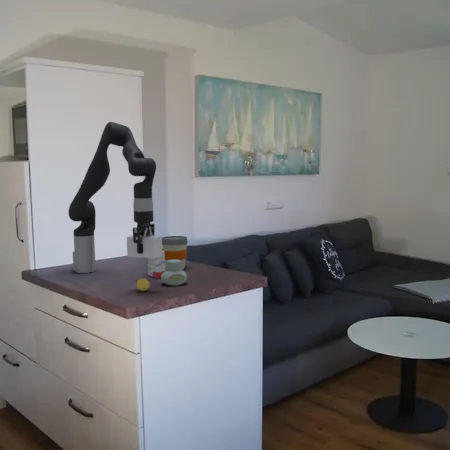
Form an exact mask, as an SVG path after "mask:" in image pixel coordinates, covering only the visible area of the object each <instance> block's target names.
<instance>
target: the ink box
mask: <svg viewBox="0 0 450 450" xmlns="http://www.w3.org/2000/svg"><path fill="white" fill-rule="evenodd" d="M165 271H166V267H165V255H164V251H162V255H161V256H159V257H156V258H147V274H148V276H149V277H153V278H156V279H161V275H162V274H163V273H164V272H165Z"/></svg>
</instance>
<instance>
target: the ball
mask: <svg viewBox="0 0 450 450" xmlns="http://www.w3.org/2000/svg"><path fill="white" fill-rule="evenodd" d="M136 288H137V290H139V291H140V292H146V291H147V290H148V289H149V288H150V282H149V280H148V279H147V278H143V277H141V278H139V279H138V280H137V282H136Z"/></svg>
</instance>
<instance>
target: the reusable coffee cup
mask: <svg viewBox="0 0 450 450" xmlns="http://www.w3.org/2000/svg"><path fill="white" fill-rule="evenodd" d="M187 246H188V237H187V236H184V235H167V236H162V251H164V255H165V271H167V261H168V260H180V261H181V270H182V271H183V270H184V269H185V268H186V267H185V266H186V259H187V253H188V248H187Z"/></svg>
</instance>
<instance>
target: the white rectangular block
mask: <svg viewBox="0 0 450 450" xmlns="http://www.w3.org/2000/svg"><path fill="white" fill-rule="evenodd" d="M162 237H163V235H155V236H145V238H143V253H142V254H138V253H137V244H136V243H134V242H133V235H129V236H126V251H127V252H126V255H127V256H126V257H128V258H142V259H144V258H145V259H148V258H156V257H159V256H161V255H162V249H163V247H162ZM136 239H137V237H136ZM140 239H141V238H140Z"/></svg>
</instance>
